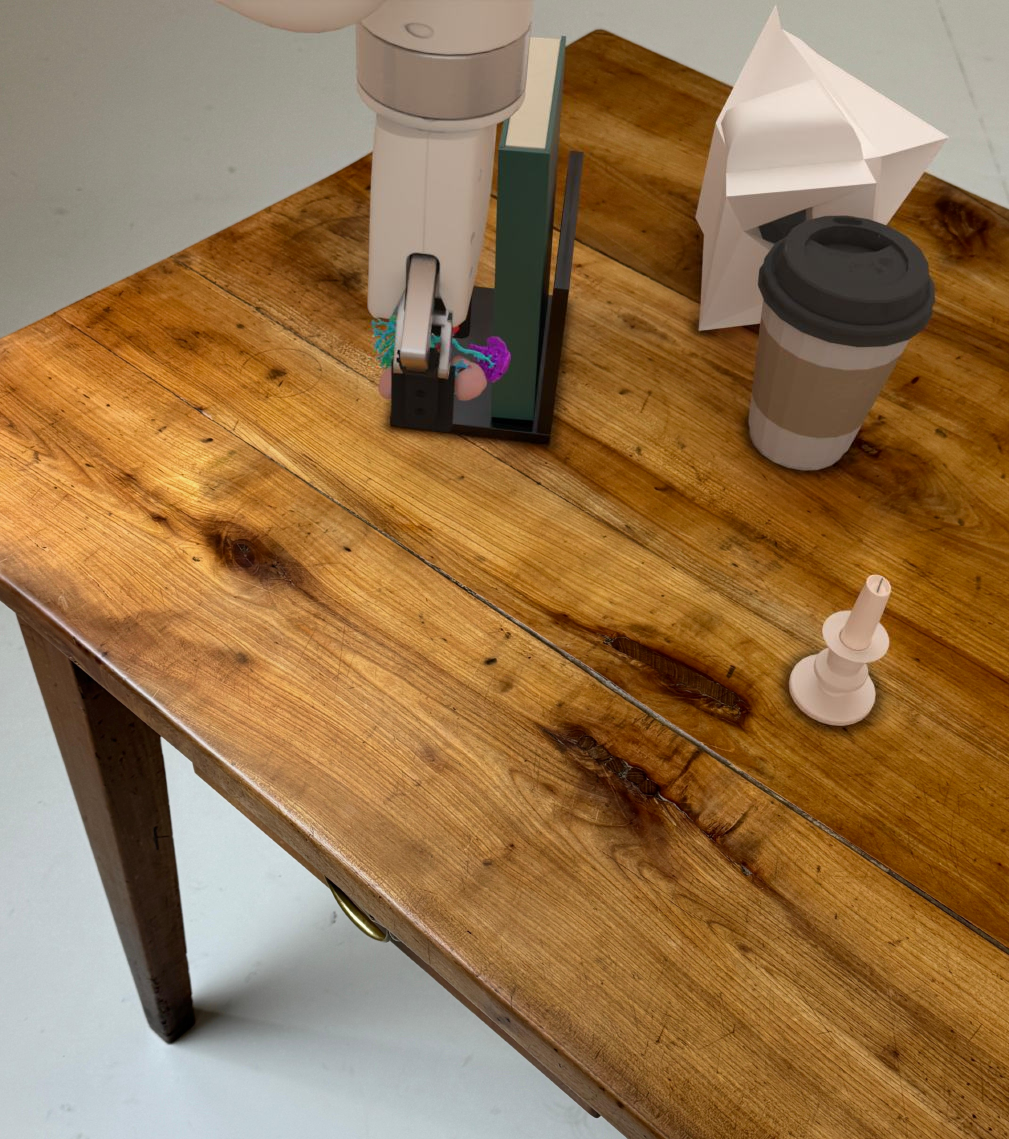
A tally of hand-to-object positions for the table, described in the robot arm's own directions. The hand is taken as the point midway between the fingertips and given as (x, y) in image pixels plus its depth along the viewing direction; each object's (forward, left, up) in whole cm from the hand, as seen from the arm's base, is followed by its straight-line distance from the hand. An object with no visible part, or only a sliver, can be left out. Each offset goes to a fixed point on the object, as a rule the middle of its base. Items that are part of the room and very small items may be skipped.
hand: (432, 375), depth 70 cm
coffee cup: (+25, +17, -16) cm, 34 cm away
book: (+2, +21, -4) cm, 21 cm away
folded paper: (+24, +39, -16) cm, 48 cm away
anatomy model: (0, 0, -1) cm, 1 cm away
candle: (+26, -6, -16) cm, 31 cm away
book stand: (+2, +21, -15) cm, 26 cm away
